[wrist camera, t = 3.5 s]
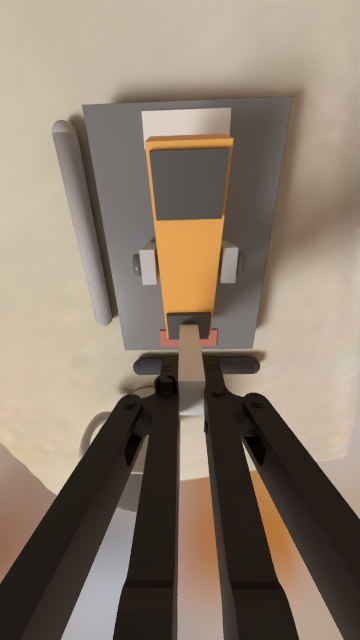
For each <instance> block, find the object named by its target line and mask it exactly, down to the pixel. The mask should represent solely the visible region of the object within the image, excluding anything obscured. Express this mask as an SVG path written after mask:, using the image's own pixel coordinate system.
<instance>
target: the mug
mask: <svg viewBox="0 0 360 640" xmlns="http://www.w3.org/2000/svg"><path fill="white" fill-rule="evenodd" d="M154 393H155V387H146V388H141V389H138V390H136V391H134V392H132V393H131V394H136V395H138V396H140V398H144V397H148V396H150V395H152V394H154ZM110 414H111V412H101V413H99V414H97V415H96V416H95V417H94V418H93V419H92V421H91V422H90V423H89V425H88V427H87V429H86V430H85V433H84V435H83V438H82V441H81V444H80V449H79V458H80V460H81V459H82V457H83V456H84V454H85V452H86V451H87V449H88V448H89V446H90V440H91V437H92V434H93V432H94V431H95V429H96V428H97V427H98V426H99V425H101V424H104V423H105V422H106V420H107V418H108V417H109V415H110ZM180 425H181V415H180ZM148 438H149V435H147V436H146V438H145V441H144V443H143V445H142V448H141V450H140V453H139V455H138V457H137V460H136V462H135V464H134V467H133V469H132V471H131V474H130V476H129V479H128V481H127V483H126V486H125V488H124V490H123V493H122V495H121V498H120V500H119V502H118V505H117V507H116V508H118V509H121V510H125V511H129V512H136V513H137V509H138V503H139V496H140V490H141V483H142V477H143V470H144V464H145V457H146V451H147V444H148ZM179 485H180V443H179ZM179 488H180V486H179Z"/></svg>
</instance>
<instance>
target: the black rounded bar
mask: <svg viewBox="0 0 360 640" xmlns="http://www.w3.org/2000/svg"><path fill="white" fill-rule="evenodd" d="M217 359H218V360H219V363H220V367H221V371H222V374H254V373H257V372H258V371H259V369H260V363H259V362H258V360H256V359H255V358H217ZM162 360H163V359H138V360H137V361H136V362H135V363H134V365H133V369H134V372H135V373H136V374H138V375H160V371H161V364H162Z"/></svg>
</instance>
